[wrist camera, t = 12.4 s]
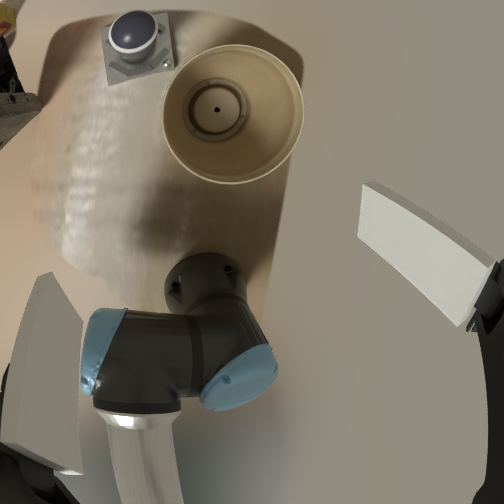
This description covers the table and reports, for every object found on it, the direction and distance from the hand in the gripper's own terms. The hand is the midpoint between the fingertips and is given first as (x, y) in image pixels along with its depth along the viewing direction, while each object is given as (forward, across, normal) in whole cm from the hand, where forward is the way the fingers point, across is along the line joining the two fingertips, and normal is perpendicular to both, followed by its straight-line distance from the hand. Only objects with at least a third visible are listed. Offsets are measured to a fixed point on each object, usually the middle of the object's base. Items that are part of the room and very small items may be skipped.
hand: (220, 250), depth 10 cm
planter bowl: (+31, -7, -2) cm, 32 cm away
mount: (+31, +2, -14) cm, 34 cm away
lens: (+30, +2, -14) cm, 33 cm away
